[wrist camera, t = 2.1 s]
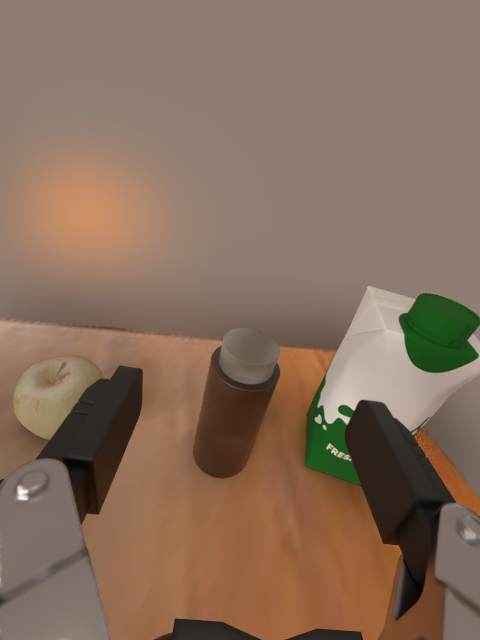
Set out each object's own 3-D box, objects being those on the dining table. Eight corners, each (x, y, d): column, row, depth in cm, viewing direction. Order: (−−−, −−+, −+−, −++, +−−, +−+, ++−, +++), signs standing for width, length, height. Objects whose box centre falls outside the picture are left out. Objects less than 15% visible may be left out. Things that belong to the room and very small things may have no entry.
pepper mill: (182, 462, 27) (202, 351, 20) (207, 418, 32) (231, 315, 24) (236, 488, 26) (278, 382, 19) (254, 439, 31) (293, 338, 23)
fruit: (123, 403, 31) (122, 347, 27) (78, 465, 25) (67, 406, 21) (60, 383, 32) (48, 324, 27) (0, 439, 26) (-27, 376, 21)
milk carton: (295, 472, 29) (393, 304, 18) (300, 405, 36) (370, 259, 26) (382, 502, 28) (537, 345, 17) (368, 427, 36) (470, 286, 25)
